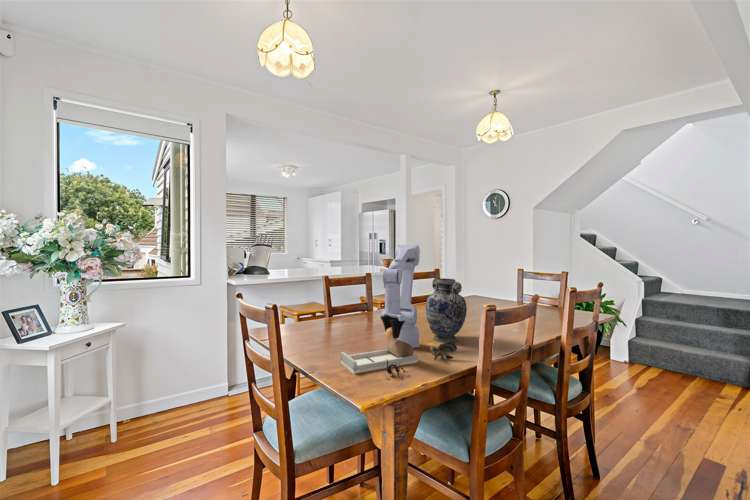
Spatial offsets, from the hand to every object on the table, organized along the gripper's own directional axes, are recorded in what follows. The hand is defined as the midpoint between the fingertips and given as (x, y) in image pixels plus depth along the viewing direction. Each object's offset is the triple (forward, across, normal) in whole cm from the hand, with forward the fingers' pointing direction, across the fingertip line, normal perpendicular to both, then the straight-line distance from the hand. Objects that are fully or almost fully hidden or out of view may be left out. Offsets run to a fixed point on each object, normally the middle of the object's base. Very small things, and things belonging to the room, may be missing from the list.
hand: (392, 336), depth 135 cm
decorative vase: (+10, -14, +36) cm, 40 cm away
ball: (-1, 0, 0) cm, 1 cm away
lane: (+9, 0, -6) cm, 11 cm away
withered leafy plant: (+10, +7, +19) cm, 22 cm away
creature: (+10, +14, -6) cm, 18 cm away
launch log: (+9, 0, +4) cm, 10 cm away
